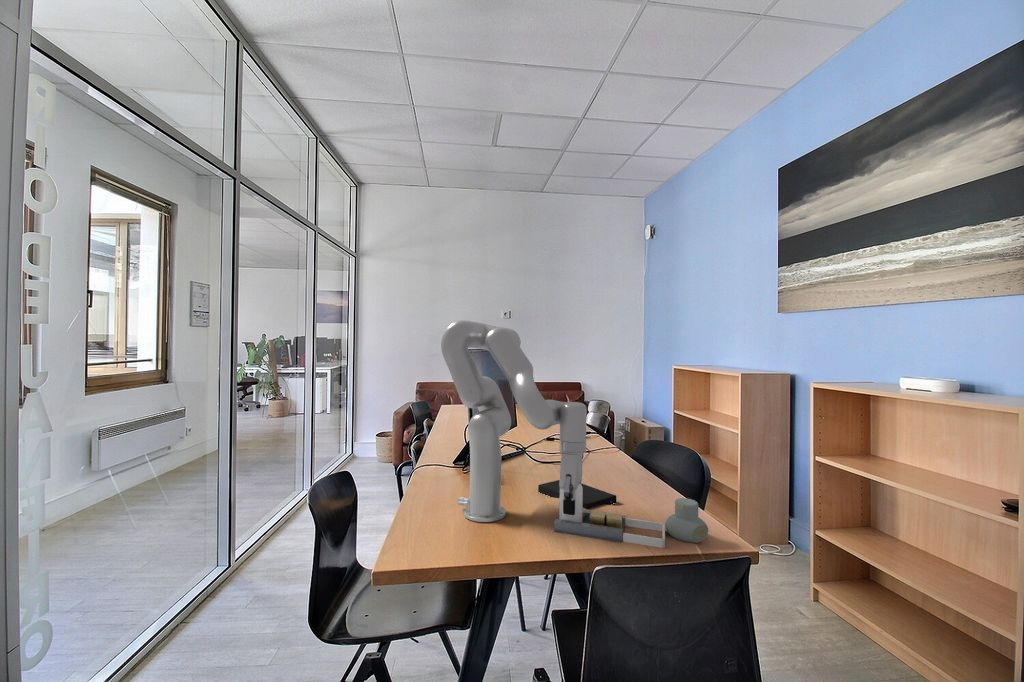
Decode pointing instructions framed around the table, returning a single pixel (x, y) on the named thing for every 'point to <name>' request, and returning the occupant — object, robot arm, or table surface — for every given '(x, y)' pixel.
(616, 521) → the chip
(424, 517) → the table surface
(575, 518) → the can
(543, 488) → the external hard drive
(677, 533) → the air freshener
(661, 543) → the tray
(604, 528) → the slot rail
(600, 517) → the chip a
